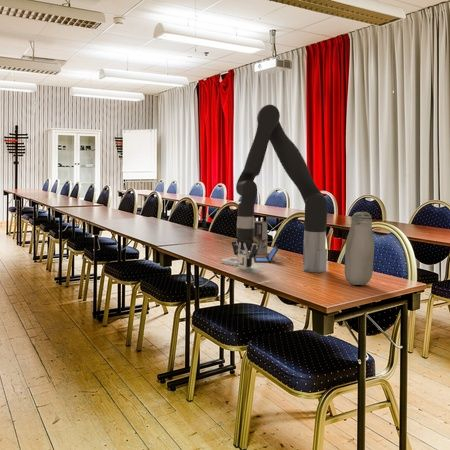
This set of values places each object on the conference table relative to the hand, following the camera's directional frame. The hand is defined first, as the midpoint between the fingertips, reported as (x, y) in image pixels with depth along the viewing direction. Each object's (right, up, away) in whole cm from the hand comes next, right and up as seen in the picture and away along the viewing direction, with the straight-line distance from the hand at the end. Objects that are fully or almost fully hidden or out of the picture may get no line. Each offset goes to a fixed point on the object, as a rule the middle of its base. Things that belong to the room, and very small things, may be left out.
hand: (244, 265), depth 210 cm
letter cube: (0, -1, 0) cm, 1 cm away
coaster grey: (+4, -2, -6) cm, 7 cm away
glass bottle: (+42, -5, -25) cm, 49 cm away
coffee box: (+8, +3, +41) cm, 42 cm away
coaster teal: (0, -1, 0) cm, 1 cm away
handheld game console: (+10, 0, +18) cm, 21 cm away
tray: (-4, 0, +11) cm, 11 cm away
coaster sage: (+5, -1, +4) cm, 6 cm away
